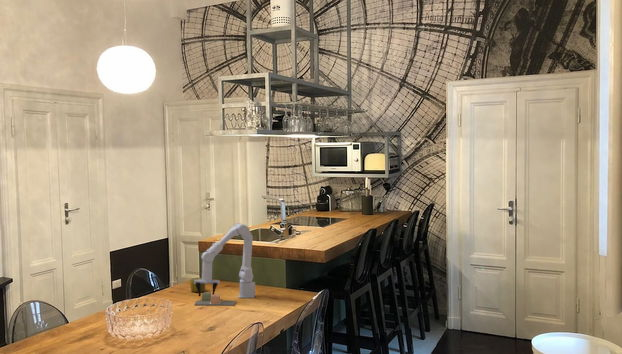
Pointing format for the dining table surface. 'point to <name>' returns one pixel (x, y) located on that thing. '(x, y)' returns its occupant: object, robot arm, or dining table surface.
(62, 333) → the dining table surface
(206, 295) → the green brick
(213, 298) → the terracotta brick
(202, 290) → the mug
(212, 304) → the baseplate
